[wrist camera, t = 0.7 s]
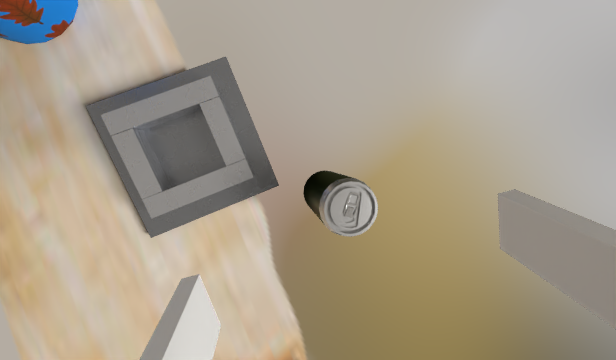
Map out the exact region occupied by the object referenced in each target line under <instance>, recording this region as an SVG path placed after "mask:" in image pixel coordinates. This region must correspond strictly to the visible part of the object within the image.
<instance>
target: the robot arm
mask: <svg viewBox="0 0 616 360" xmlns="http://www.w3.org/2000/svg"><path fill="white" fill-rule="evenodd" d="M498 211H499V235H500V249H501V250H503V251H504V252H506V253H507V254H509V255H510V256H511V257H513V258H514V259H516V260H517V261H519V262H520V263H522V264H523V265H524V266H526V267H527V268H529V269H530V270H532V271H533V272H534V273H536V274H537V275H539V276H540V277H542V278H543V279H544V280H546V281H547V282H549V283H550V284H552V285H553V286H554V287H556V288H557V289H559V290H560V291H562V292H563V293H564V294H566V295H567V296H569V297H570V298H571V299H573V300H574V301H576V302H577V303H579V304H580V305H582V306H583V307H584V308H586V309H587V310H589V311H590V312H592V313H593V314H594V315H596V316H597V317H599V318H600V319H601V320H603V321H604V322H606V323H607V324H609V325H610V326H612V327H613V328H614V329H616V230H614V229H612V228H609V227H607V226H604V225H601V224H599V223H596V222H594V221H592V220H589V219H587V218H584V217H582V216H579V215H577V214H574V213H572V212H569V211H567V210H565V209H562V208H560V207H557V206H555V205H552V204H550V203H547V202H545V201H542V200H540V199H538V198H535V197H533V196H530V195H528V194H525V193H523V192H520V191H518V190H515V189H514V190H511V191H507V192H503V193H499V194H498ZM220 327H221V324H220V322H219V319H218V317H217V315H216V312H215V310H214V307H213V305H212V303H211V300H210V298H209V296H208V293H207V291H206V289H205V286H204V284H203V282H202V279H201V277H200V274H198V275H195V276H191V277H187V278H184V279H181V281H180V283H179V285H178V287H177V289H176V291H175V292H174V294H173V296H172V298H171V300H170V302H169V304H168V306H167V308H166V310H165V312H164V314H163V316H162V317H161V319H160V321H159V323H158V325H157V327H156V329H155V331H154V333H153V335H152V337H151V339H150V341H149V342H148V344H147V346H146V348H145V350H144V352H143V354H142V356H141V358H140V360H212V359H213V355H214V351H215V347H216V343H217V339H218V335H219V331H220Z"/></svg>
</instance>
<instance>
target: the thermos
mask: <svg viewBox="0 0 616 360" xmlns="http://www.w3.org/2000/svg"><path fill="white" fill-rule="evenodd" d="M77 7H78V0H0V37H1V38H4V39H7V40H11V41H16V42H20V43H25V44H32V43H42V42H47V41H49V40H51V39H53V38H55V37H57V36H59V35H61V34H62V33H63V32H64V31H65V30H66V29H67V28H68V26H69V25H70V24H71V23H72V22H73V19H74V16H75V13H76V10H77Z"/></svg>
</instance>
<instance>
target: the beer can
mask: <svg viewBox="0 0 616 360" xmlns="http://www.w3.org/2000/svg"><path fill="white" fill-rule="evenodd" d="M304 198H305V201H306V203H307V204H308V206H309V207H310V208H311V209H312V211H313V212H314V213H315V214H316V215H317V217H318V218H319V219H320V220H321V221H322V223H324V225H325V226H326V227H327V228H328V229H329V230H331V231H332V232H334V233H336V234H339V235H343V236H356V235H359V234H362V233H363V232H365V231H366V230H368V229H369V228H370V227H371V225H372V224H373V223H374V221H375V218H376V216H377V210H378V205H377V200H376V197H375V195H374V193H373V191H372V190H371V189H370V188H369V187H368V186H367V185H366V184H365V183H364V182H362V181H360V180H358V179H355V178H352V177H348V176H345V175H342V174H338V173H334V172H331V171H320V172H317V173H315V174H313V175H312V176H311V177H310V178H309V179H308V180H307V182H306V184H305V186H304Z"/></svg>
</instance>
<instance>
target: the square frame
mask: <svg viewBox="0 0 616 360" xmlns="http://www.w3.org/2000/svg"><path fill="white" fill-rule="evenodd" d="M86 108H87V110H88V112H89V114H90V116H91V118H92V120H93V122H94V124H95V126H96V128H97V130H98V132H99V134H100V136H101V138H102V140H103V142H104V144H105V146H106V148H107V150H108V152H109V154H110V156H111V158H112V160H113V162H114V164H115V166H116V168H117V170H118V173H119V175H120V177H121V179H122V181H123V183H124V185H125V187H126V189H127V191H128V193H129V195H130V197H131V199H132V201H133V203H134V205H135V207H136V209H137V211H138V213H139V215H140V217H141V219H142V221H143V223H144V225H145V227H146V229H147V231H148V233H149V235H150V237H151V238H152V237H154V236H157V235H159V234H162V233H164V232H167V231H169V230H171V229H174V228H176V227H179V226H181V225H184V224H186V223H188V222H191V221H193V220H196V219H198V218H201V217H203V216H206V215H208V214H210V213H213V212H215V211H218V210H220V209H223V208H225V207H227V206H230V205H232V204H235V203H237V202H240V201H242V200H245V199H247V198H249V197H252V196H254V195H257V194H259V193H261V192H264V191H266V190H269V189H271V188H274V187H276V186H278V182H277V180H276V177H275V175H274V172H273V170H272V167H271V165H270V162H269V160H268V158H267V155H266V153H265V150H264V148H263V146H262V143H261V141H260V138H259V136H258V133H257V131H256V129H255V126H254V124H253V121H252V119H251V117H250V114H249V111H248V109H247V107H246V104H245V102H244V99H243V97H242V94H241V92H240V90H239V87H238V85H237V83H236V80H235V78H234V75H233V73H232V70H231V68H230V65H229V63H228V60H227V58H226V57H223V58H221V59H218V60H215V61H212V62H210V63H207V64H204V65H201V66H198V67H195V68H192V69H189V70H187V71H184V72H181V73H178V74H175V75H172V76H169V77H167V78H164V79H161V80H158V81H155V82H152V83H150V84H147V85H144V86H141V87H138V88H135V89H133V90H130V91H127V92H124V93H121V94H118V95H116V96H113V97H110V98H107V99H104V100H101V101H98V102H96V103H93V104H90V105H87V106H86Z"/></svg>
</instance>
